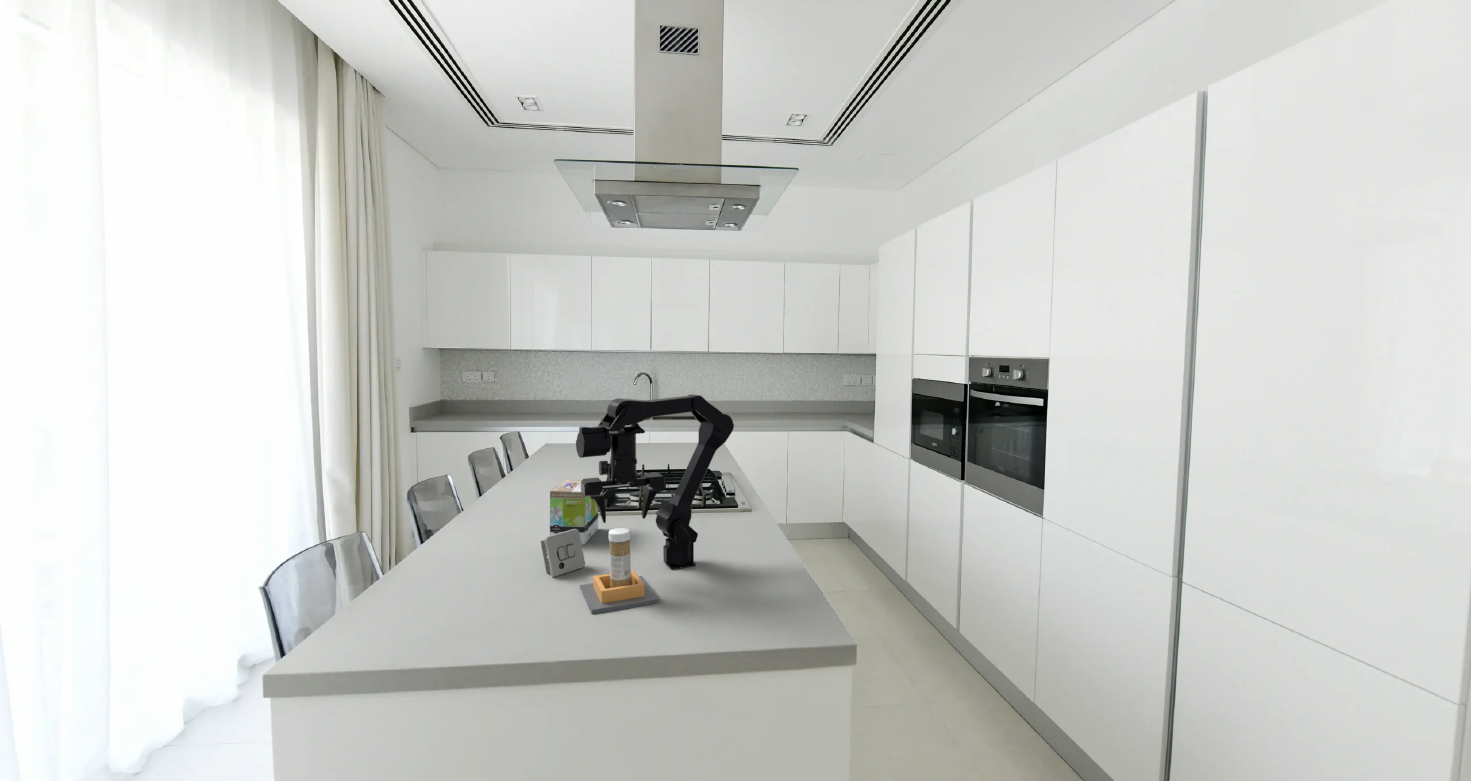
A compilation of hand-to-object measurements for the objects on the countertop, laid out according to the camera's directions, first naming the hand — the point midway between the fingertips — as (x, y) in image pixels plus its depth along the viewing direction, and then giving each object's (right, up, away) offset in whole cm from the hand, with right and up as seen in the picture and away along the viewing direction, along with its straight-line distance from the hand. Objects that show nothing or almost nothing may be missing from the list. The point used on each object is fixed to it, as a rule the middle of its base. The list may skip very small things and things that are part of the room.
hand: (624, 520), depth 145 cm
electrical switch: (-15, -13, +4) cm, 21 cm away
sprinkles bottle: (+1, -13, -11) cm, 17 cm away
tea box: (-19, -11, +30) cm, 37 cm away
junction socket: (+1, -14, -11) cm, 17 cm away
